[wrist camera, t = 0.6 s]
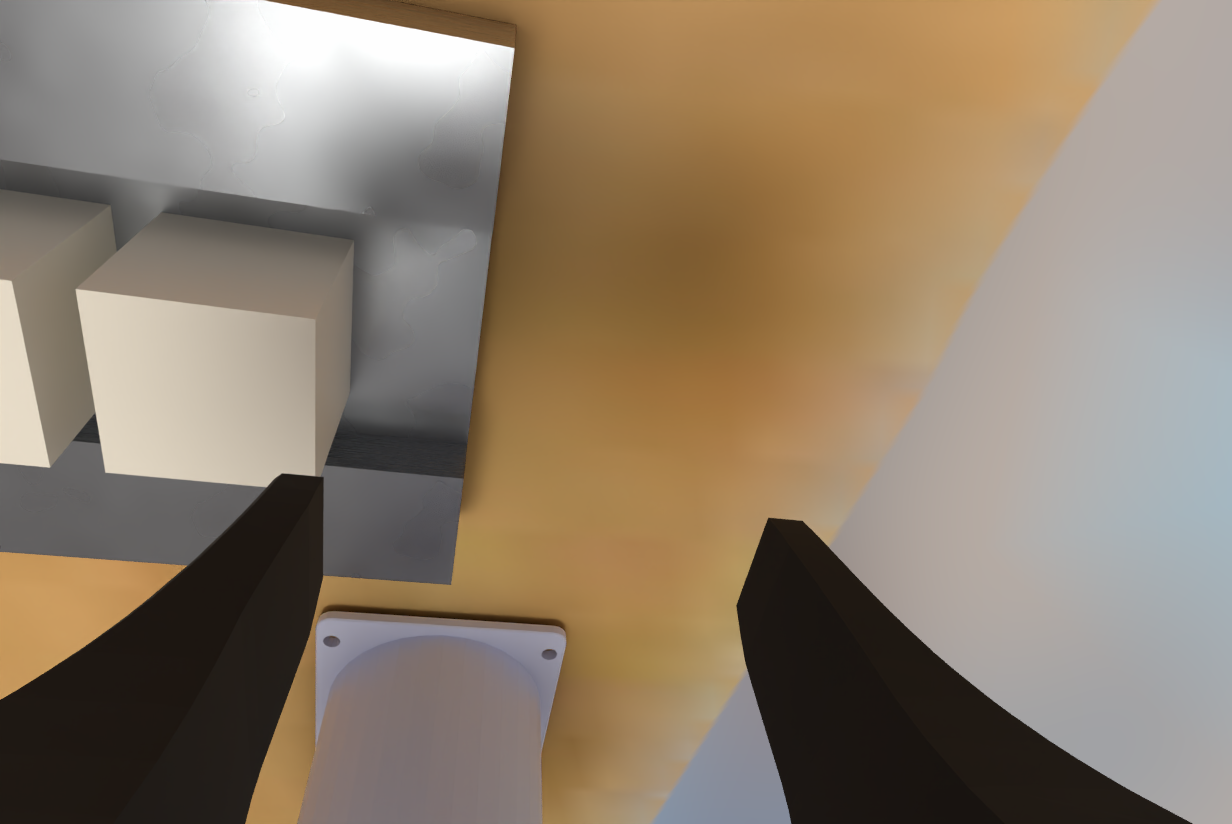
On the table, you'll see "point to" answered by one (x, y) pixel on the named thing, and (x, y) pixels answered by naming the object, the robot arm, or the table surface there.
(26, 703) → the robot arm
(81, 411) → the beige cube
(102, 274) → the cream cube block
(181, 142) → the slotted plate
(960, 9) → the table surface
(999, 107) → the table surface
